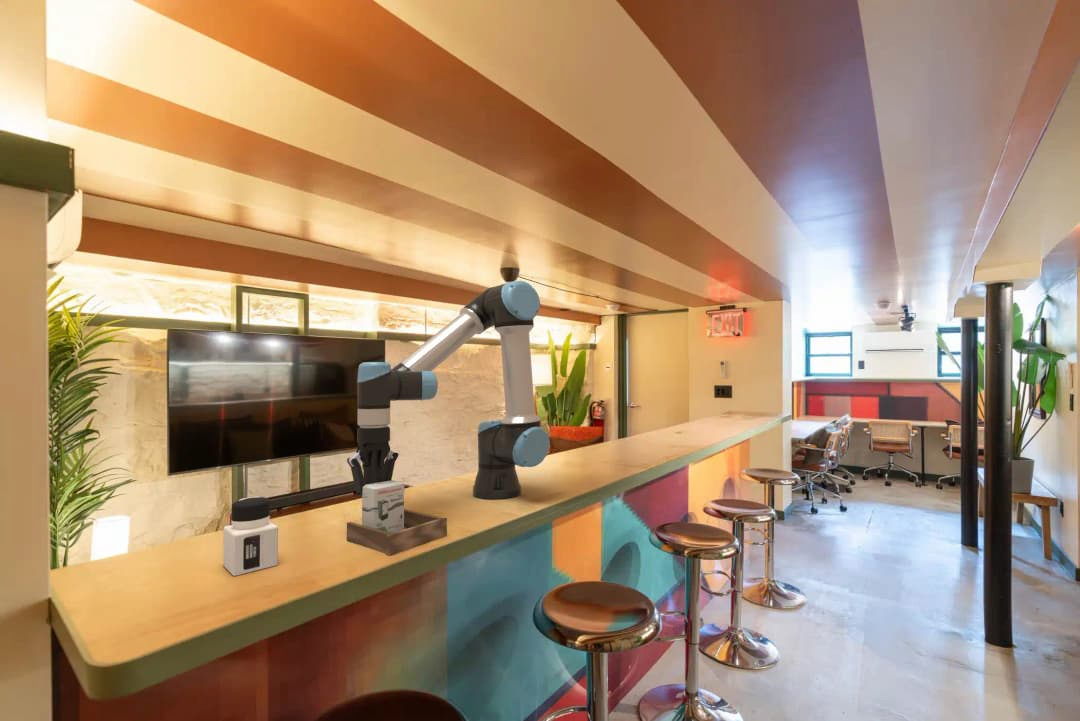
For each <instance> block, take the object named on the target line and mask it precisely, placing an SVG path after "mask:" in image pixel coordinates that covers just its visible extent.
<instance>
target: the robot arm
mask: <svg viewBox="0 0 1080 721" xmlns="http://www.w3.org/2000/svg"><path fill="white" fill-rule="evenodd" d="M540 309H541V301H540V296H539V294H538V292H537V290H536V289H535V288H534V287H533V286H532V284H530V283H528V282H527V281H524V280H514V281H508V282H506V283H502V284H498V285H495V286H491V287H489V288H487V289H485V290H483V291H482V292H480V293H479V294H478V295H477V296H476V297H474V298H473V299H472V300H471V301H469V302H468V303H467V304H466V305H465V306H463V307H462V308H461V309H460V310H459V315H458V316H456V317H455V318H454V319H453V320H451V321H450V322H449V323H448V324H446V325H445V326H444V327H443V328H441V329H440V330H438V332H436V333H435V334H434V335H432V337H430V338H429V339H428V340H427V341H425V342H424V343H423V344H422V345H420V346H419V347H417V348H416V349H415V350H414V351H413V352H411V353H410V354H409V355H408V356H407V357H405V358H404V359H403V360H402V361H400V362H398V364H397V365H395V366H394V367H393V368H392V366H391V364H390V363H389V362H383V361H368V362H367V361H366V362H361V363H360V364H359V365H358V369H357V370H358V371H357V381H356V383H357V425H358V427H357V429H356V432H357V436H356V442H357V445H358V446H357V449H356V452H355V455H353V456H352V457H348V458H347V459H346V462H347V464H348V466H349V467H350V471H351V475H352V480H353V485H354V489H355V492H356V493H355V494H356V496H357V497H358V498H362V492H363V486H365V485H368V484H373V483H379V482H385V481H391V480H392V479H393V474H394V468H395V464H396V461H397V460H398V458H399V453H398V452H394V451H393V450H391V446H390V444H389V442H390V441H391V428H390V426H389V425H391V401H392V402H393V401H394V402H396V401H422V402H423V401H425V400H432V399H434V398H435V397H436V395H437V394H438V389H439V388H438V386H439V385H438V384H439V382H438V379H437V375H436V374H435V372H433V371H434V370H435V369H436V368H437V367H439V365H441V364H442V363H443V362H444V361H446V360H447V359H448V358H449V357H450V356H452V354H454V353H455V352H456V351H457V350H459V349H460V348H461V347H462V346H463V345H464V344H466V343H467V342H469V340H470V339H471V338H473V337H474V336H475V335H481V334H483V333H484V332H485V331H486V330H489V329H490V328H492V327H494V330H495V331H496V332H497V333H498V334H499V336H500V351H501V365H502V378H503V394H504V406H505V407H504V408H505V410H504V411H505V416H504V418H502V419H499V420H487V421H482V422H480V423H479V424H478V428H477V452H478V456H477V457H478V459H477V460H478V462H477V463H478V465H477V466H478V467H477V468H478V470H477V473H476V477H475V481H474V484H473V486H472V496H473V497H475V498H480V499H484V500H485V499H487V500H501V499H503V500H504V499H509V498H514V497H518V496H520V495H521V494H522V487H521V486H522V485H521V483H520V480H519V477H518V472H517V470H516V466H518V467H520V468H533V467H536V466H538V465H540V464H541V463H543V461H544V460H545V459H546V457H547V456H548V453H549V450H550V446H551V441H550V436H549V434H548V433H547V432H546V430H545V429H543V427H542V425H541V424H542V422H541V418H540V417H539V416H538V415H537V414H536V411H535V410H536V409H535V399H534V395H535V394H534V383H533V382H534V381H533V368H532V367H533V366H532V354H531V340H530V332H531V331H532V329H534V327H535V325H534V324H535V323H534V319H535V317H536V316H537V315H538V313H539V312H540ZM361 463H362V465H361Z"/></svg>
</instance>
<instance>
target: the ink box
mask: <svg viewBox="0 0 1080 721" xmlns="http://www.w3.org/2000/svg"><path fill="white" fill-rule="evenodd" d="M361 499H362V500H361V504H362V505H361V525H364V526H368V527H371V528H375V529H378V530H382V531H386V532H389V533H394V532H398V531H401V530H404V529H405V527H404V509H405V483H404V482H401V481H396V480H391V481H385V482H379V483H373V484H368V485H365V486H363V492H362V497H361Z"/></svg>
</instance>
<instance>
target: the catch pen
mask: <svg viewBox="0 0 1080 721" xmlns="http://www.w3.org/2000/svg"><path fill="white" fill-rule="evenodd" d="M447 520H448V518H447V517H440V516H436V515H432V514H427V513H423V512H420V511H419V512H418V511H414V510H411V509H410V510H409V509H406V508H404V530H401V531H398V532H394V533H389V532H386V531H382V530H378V529H375V528H371V527H368V526H364V525H362V523H361V524H359V523H356V522H352V521H349V522H346V541H347V542H350V543H353V544H355V545H359V546H362V547H365V548H368V549H372V550H375V551H378V552H380V553H383V554H385V556H388V557H389V556H392V555H395V554H398V553H400V552H403V551H406V550H410V549H412V548H416V547H417V546H421V545H423V544H427V543H429V542H433V541H435V540H438V539H441V538H443V537H446V536H448V535H447V534H448V521H447Z"/></svg>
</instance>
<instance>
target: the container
mask: <svg viewBox="0 0 1080 721" xmlns="http://www.w3.org/2000/svg"><path fill="white" fill-rule="evenodd" d="M270 519H271V500H270V499H269V498H268V497H265V496H252V497H251V496H250V497H245V498H241V499H238V500H236V501H234V502H233V503H232V504H231V524H229V525H226V526H224V527H223V536H222V537H223V540H222V541H223V544H222V545H223V548H222V551H223V552H222V554H223V555H222V566H223V567H224V568H225V570H227V571H228V572H229V573H230V574H231V575H232V576H234V577H237V576H241V575H244V574H248V573H252V572H256V571H259V570H264V569H267V568H271V567H276V566H278V563H279V559H278V558H279V555H278V554H279V526H278V525H276V523H273V522H271V521H270Z"/></svg>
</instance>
